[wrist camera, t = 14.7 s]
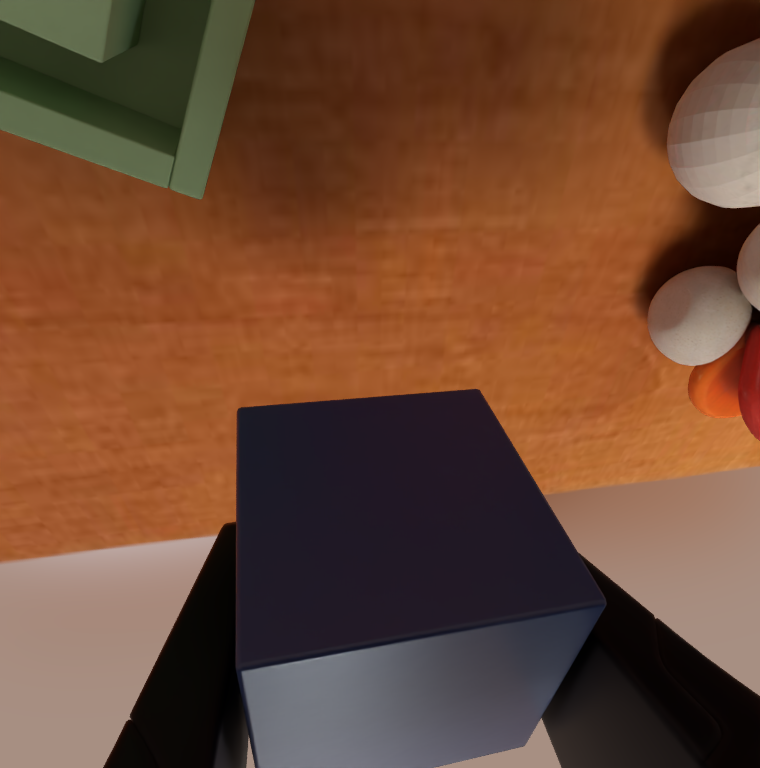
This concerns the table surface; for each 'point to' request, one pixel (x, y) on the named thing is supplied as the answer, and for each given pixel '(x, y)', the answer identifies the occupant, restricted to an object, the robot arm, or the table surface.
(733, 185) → the white pink lumpy cylinder
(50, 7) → the sage block
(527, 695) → the navy block
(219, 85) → the sage bin
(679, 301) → the rainbow wheeled toy
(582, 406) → the table surface
